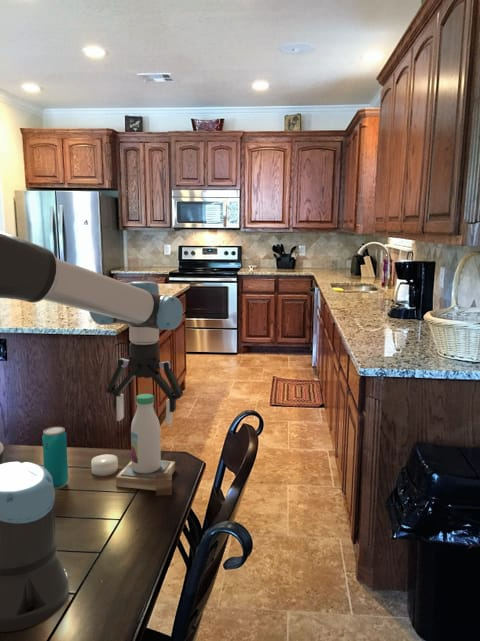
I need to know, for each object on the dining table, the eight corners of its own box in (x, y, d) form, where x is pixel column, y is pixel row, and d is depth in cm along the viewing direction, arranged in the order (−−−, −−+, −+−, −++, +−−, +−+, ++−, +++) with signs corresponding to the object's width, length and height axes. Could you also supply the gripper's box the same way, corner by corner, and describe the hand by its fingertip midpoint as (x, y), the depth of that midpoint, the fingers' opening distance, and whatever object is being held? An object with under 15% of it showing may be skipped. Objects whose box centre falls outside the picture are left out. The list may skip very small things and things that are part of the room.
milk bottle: (163, 462, 136) (163, 392, 133) (156, 475, 128) (155, 401, 125) (136, 461, 137) (135, 390, 134) (127, 473, 129) (125, 399, 126)
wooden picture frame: (160, 490, 126) (160, 480, 126) (116, 486, 128) (115, 475, 128) (175, 470, 138) (175, 460, 137) (134, 466, 140) (134, 456, 140)
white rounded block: (111, 476, 133) (110, 466, 133) (87, 474, 135) (86, 463, 134) (122, 465, 140) (121, 455, 140) (98, 463, 141) (98, 453, 141)
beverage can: (62, 478, 132) (60, 424, 130) (72, 485, 128) (70, 430, 126) (41, 485, 128) (38, 429, 126) (50, 493, 124) (47, 436, 122)
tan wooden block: (172, 494, 124) (171, 479, 124) (155, 495, 124) (155, 480, 123) (171, 487, 128) (171, 472, 128) (156, 488, 128) (155, 473, 127)
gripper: (195, 341, 129) (194, 420, 132) (105, 336, 133) (106, 413, 136) (186, 347, 121) (186, 430, 124) (92, 341, 126) (93, 421, 129)
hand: (144, 421), depth 130 cm, fingers open, 13 cm apart
